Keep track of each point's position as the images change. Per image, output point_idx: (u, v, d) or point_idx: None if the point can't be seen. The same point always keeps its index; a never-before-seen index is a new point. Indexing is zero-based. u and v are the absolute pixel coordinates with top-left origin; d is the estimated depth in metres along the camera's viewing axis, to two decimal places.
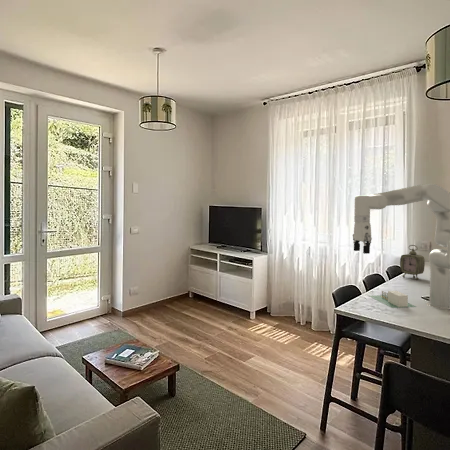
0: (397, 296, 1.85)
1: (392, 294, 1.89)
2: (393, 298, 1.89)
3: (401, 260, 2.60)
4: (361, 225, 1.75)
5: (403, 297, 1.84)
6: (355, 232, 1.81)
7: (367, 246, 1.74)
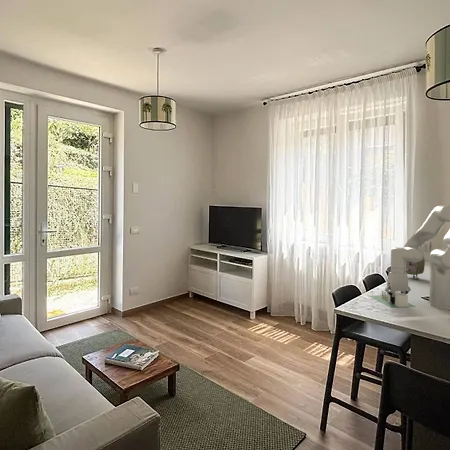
0: (397, 296, 1.85)
1: None
2: None
3: None
4: (406, 276, 1.86)
5: (403, 297, 1.84)
6: (396, 284, 1.86)
7: None
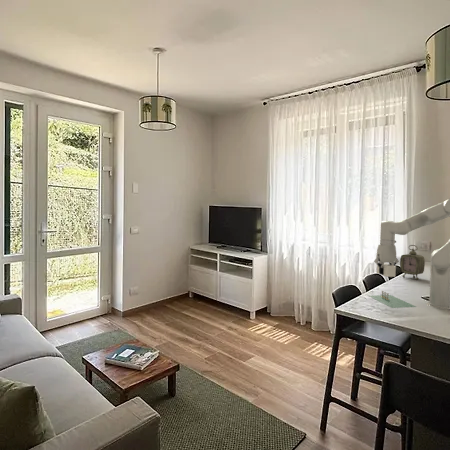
0: (386, 267, 1.95)
1: None
2: None
3: (401, 260, 2.60)
4: (394, 248, 1.96)
5: (391, 267, 1.94)
6: (385, 255, 1.96)
7: None
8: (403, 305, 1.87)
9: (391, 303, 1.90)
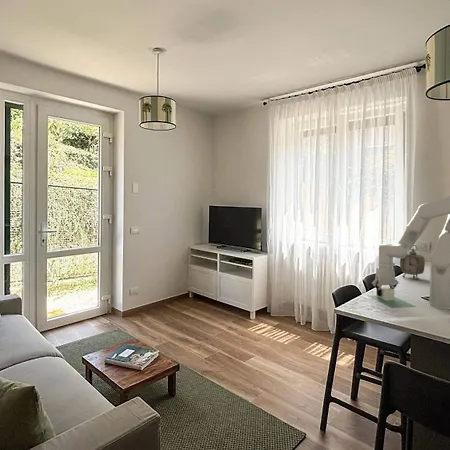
0: (384, 290, 1.97)
1: (380, 289, 2.01)
2: (381, 292, 2.00)
3: (401, 260, 2.60)
4: (393, 270, 1.98)
5: (390, 291, 1.96)
6: (384, 278, 1.98)
7: None
8: (403, 305, 1.87)
9: (391, 303, 1.90)
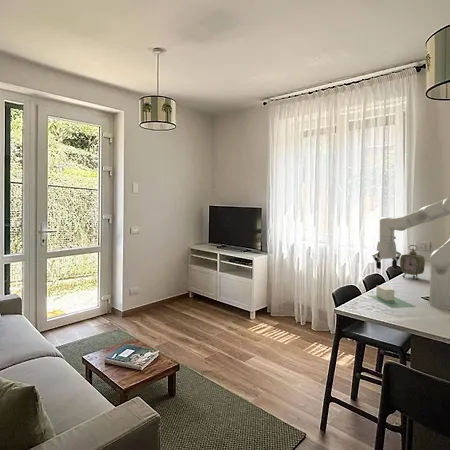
0: (384, 290, 1.97)
1: (380, 289, 2.01)
2: (381, 292, 2.00)
3: (401, 260, 2.60)
4: (394, 244, 1.98)
5: (390, 291, 1.96)
6: (385, 251, 1.97)
7: None
8: (403, 305, 1.87)
9: (391, 303, 1.90)
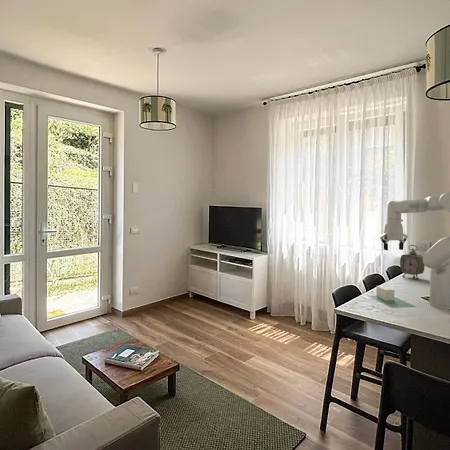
0: (384, 290, 1.97)
1: (380, 289, 2.01)
2: (381, 292, 2.00)
3: (401, 260, 2.60)
4: (401, 226, 2.05)
5: (390, 291, 1.96)
6: (392, 233, 2.04)
7: None
8: (403, 305, 1.87)
9: (391, 303, 1.90)
